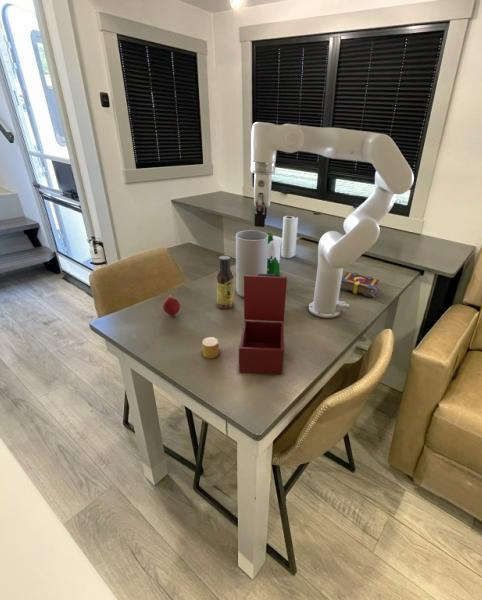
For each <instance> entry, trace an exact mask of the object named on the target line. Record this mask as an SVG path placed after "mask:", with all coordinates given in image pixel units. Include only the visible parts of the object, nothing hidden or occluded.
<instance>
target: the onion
mask: <svg viewBox="0 0 482 600" xmlns="http://www.w3.org/2000/svg"><path fill="white" fill-rule="evenodd" d="M162 309H163V312H165V313H166V314H167V315H170V316H174V315H177V313H179V311H180V309H181V303H180V302H179V300H178V299H177V298H175V297H173V296H172V295H171V294H169V295H168V297H167V298H166V299H165V300H164V302H163V304H162Z"/></svg>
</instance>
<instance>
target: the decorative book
mask: <svg viewBox="0 0 482 600" xmlns="http://www.w3.org/2000/svg"><path fill="white" fill-rule="evenodd" d="M379 281H380V280H379V279H378V278H374V277H372V276H369V275H368V276H366V275H361V274H359V273H356V272H349V271H348V272H346V273H345V275H343V276H342V280H341V286H340V290H342V291H345V292H347V291H348V292H352V294H359V295H362V296H365V297H369V298H374V299H375V298H376V295H374V294H376V293H378V290H377V289H379V285H380V283H379Z"/></svg>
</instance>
